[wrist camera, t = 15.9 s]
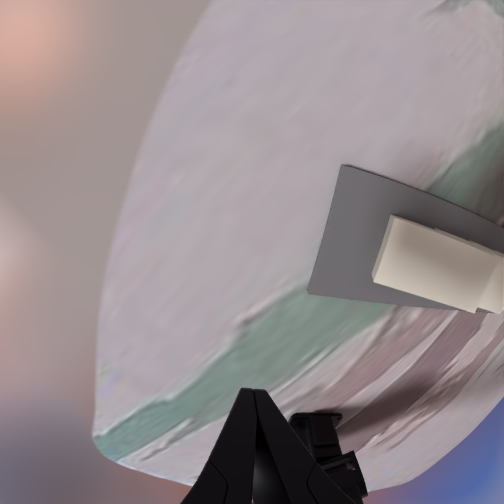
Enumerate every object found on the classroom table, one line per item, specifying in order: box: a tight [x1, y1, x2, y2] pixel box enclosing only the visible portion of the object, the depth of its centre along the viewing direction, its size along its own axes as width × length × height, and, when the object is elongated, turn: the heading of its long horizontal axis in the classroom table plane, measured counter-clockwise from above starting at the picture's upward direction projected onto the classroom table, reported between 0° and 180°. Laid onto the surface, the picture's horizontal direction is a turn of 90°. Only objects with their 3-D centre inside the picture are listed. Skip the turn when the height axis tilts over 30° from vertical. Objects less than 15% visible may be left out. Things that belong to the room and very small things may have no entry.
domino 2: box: [435, 228, 504, 314], centre depth 19 cm, size 2×5×10 cm
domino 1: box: [372, 215, 498, 313], centre depth 18 cm, size 2×5×10 cm
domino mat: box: [307, 165, 504, 313], centre depth 22 cm, size 10×27×1 cm, turn 79°
